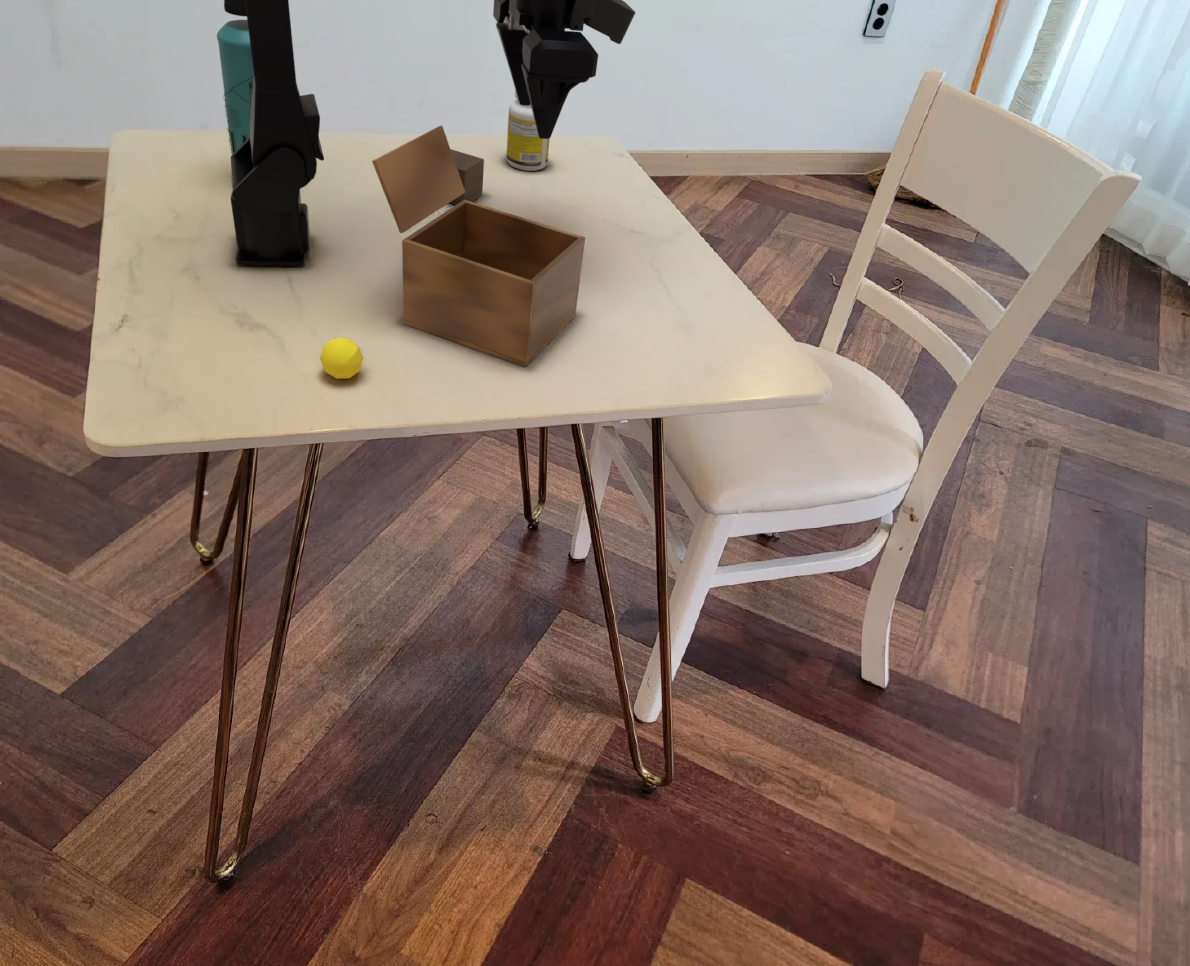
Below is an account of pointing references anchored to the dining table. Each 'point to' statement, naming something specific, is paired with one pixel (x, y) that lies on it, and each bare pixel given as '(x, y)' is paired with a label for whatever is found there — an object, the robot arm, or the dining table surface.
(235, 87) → the beverage bottle
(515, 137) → the supplement bottle
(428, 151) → the flap
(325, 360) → the yellow lemon
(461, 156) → the block
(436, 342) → the dining table surface
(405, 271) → the brown wooden open box
